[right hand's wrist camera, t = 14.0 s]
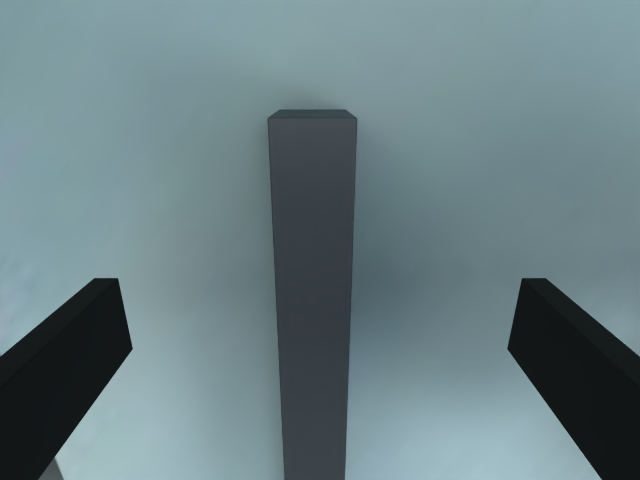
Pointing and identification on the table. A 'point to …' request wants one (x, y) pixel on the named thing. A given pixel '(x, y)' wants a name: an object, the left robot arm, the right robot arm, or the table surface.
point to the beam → (313, 283)
